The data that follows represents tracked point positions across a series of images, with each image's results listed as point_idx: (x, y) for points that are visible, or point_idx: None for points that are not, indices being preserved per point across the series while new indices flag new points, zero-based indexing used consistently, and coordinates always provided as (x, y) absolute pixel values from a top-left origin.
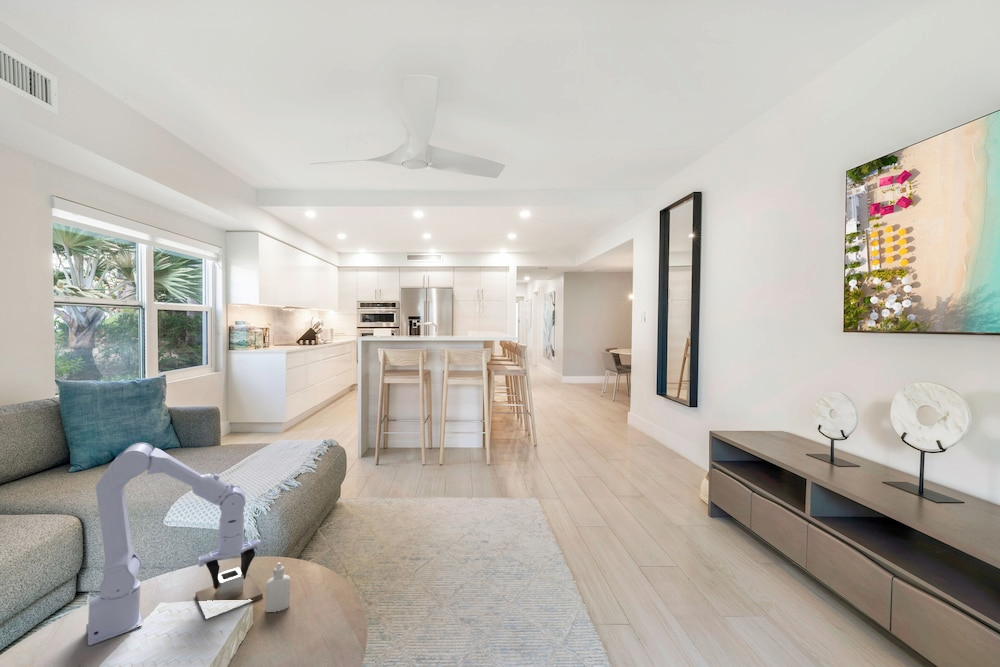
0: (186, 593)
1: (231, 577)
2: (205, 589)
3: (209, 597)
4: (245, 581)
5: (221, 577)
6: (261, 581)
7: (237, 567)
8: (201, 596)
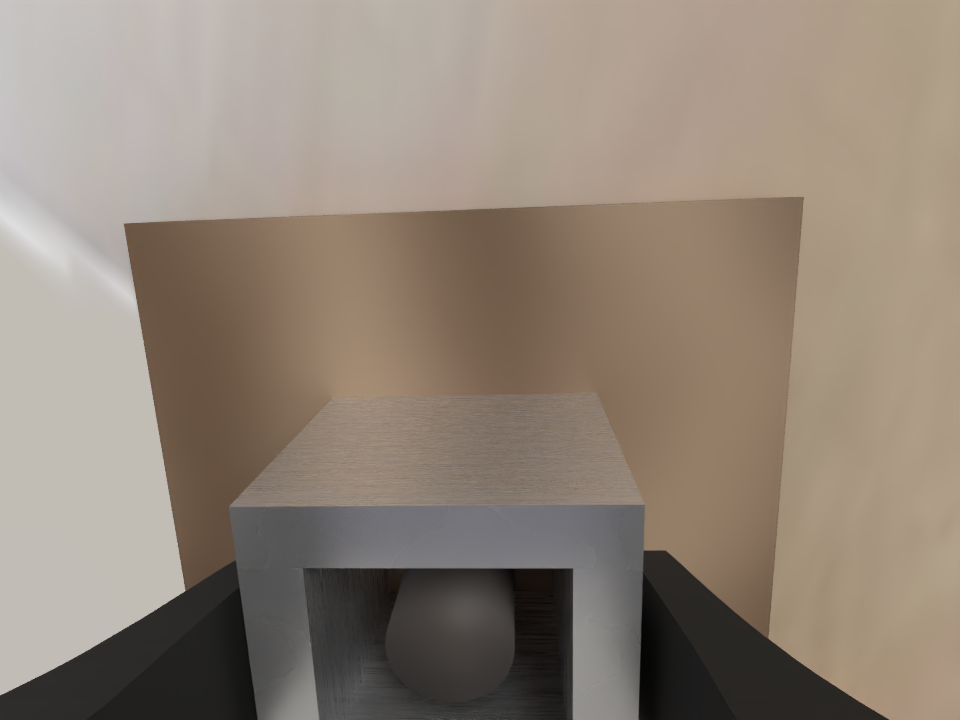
0: (61, 48)
1: (478, 637)
2: (234, 234)
3: (264, 468)
4: (695, 384)
5: (305, 681)
6: (864, 399)
7: (626, 506)
8: (185, 383)
